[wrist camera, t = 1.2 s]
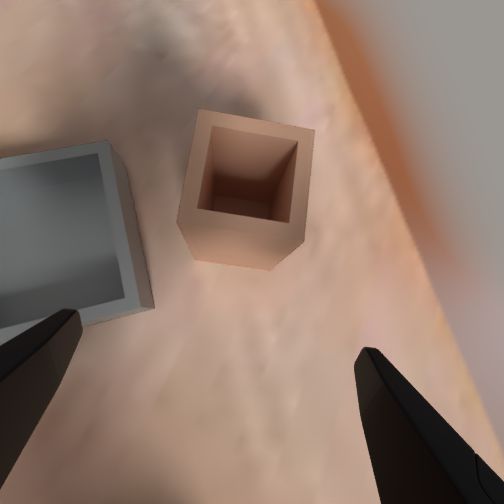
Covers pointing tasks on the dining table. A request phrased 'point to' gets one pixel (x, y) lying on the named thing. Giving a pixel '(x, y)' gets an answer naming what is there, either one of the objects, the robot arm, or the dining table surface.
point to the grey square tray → (68, 238)
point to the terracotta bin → (245, 190)
